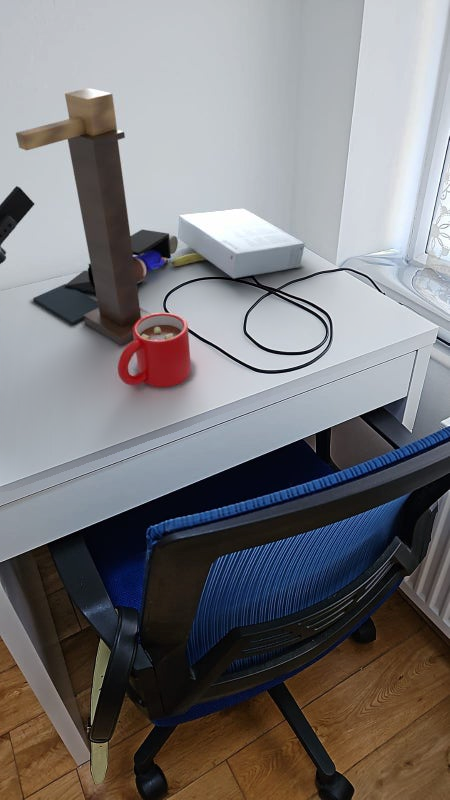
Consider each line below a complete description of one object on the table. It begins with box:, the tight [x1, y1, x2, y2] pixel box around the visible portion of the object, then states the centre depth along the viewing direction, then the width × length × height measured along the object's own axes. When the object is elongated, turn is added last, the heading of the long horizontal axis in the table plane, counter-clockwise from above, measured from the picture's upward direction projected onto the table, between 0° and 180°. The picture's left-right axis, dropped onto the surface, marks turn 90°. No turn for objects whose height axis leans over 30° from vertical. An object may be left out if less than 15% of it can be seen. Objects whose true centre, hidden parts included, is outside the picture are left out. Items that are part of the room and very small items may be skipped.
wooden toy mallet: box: [15, 87, 118, 151], centre depth 74 cm, size 13×5×4 cm, turn 137°
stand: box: [67, 129, 152, 346], centre depth 88 cm, size 8×10×31 cm
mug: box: [117, 312, 192, 388], centre depth 84 cm, size 8×12×8 cm, turn 138°
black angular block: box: [65, 262, 143, 295], centre depth 106 cm, size 12×7×5 cm, turn 69°
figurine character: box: [130, 229, 179, 283], centre depth 110 cm, size 7×8×15 cm
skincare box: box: [177, 208, 306, 279], centre depth 114 cm, size 21×6×16 cm
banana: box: [171, 252, 208, 267], centre depth 113 cm, size 8×2×4 cm
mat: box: [32, 283, 99, 326], centre depth 103 cm, size 12×7×1 cm, turn 47°
